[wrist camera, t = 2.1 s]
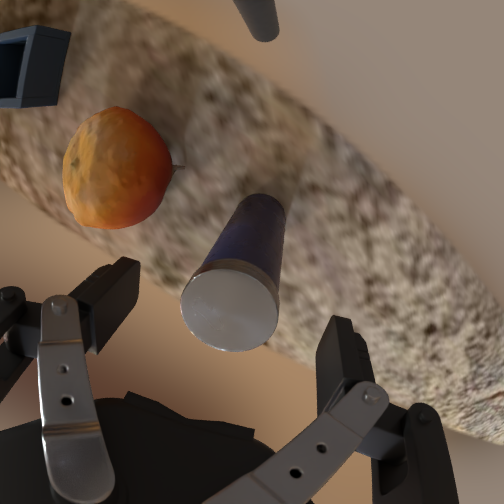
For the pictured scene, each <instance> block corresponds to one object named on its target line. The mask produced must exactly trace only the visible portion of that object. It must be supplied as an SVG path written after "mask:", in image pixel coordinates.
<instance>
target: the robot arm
mask: <svg viewBox="0 0 504 504" xmlns="http://www.w3.org/2000/svg"><path fill="white" fill-rule="evenodd" d="M139 281H140V262H139V261H137V260H134V259H130V258H127V257H124V256H123V257H121V258H120V259H119V260H117V261H116V262H115V263H114V264H113V265H111V264H108V265H105V266H102V267H100V268H98V269H97V270H96V271H95V272H93V273H92V274H91V275H90V276H89V277H88V278H86V280H84V281H83V282H82V283H81V284H80V285H79V286H77V287H76V288H75V289H74V290H73V291H72V292H71V293H70V294H68V295H55V296H51V297H49V298H47V299H46V300H45V301H44V302H43V304H41V303H36V302H30V301H26V297H25V293H24V291H23V290H22V289H21V288H19V287H14V286H8V287H4V288H1V289H0V339H1V337H4V342H3V343H2V344H1V345H0V403H1V401H3V399H4V398H5V396H6V395H7V394H8V392H9V391H10V389H11V388H12V387H13V385H14V384H15V383H16V381H17V380H18V379H19V377H20V376H21V375H22V373H23V372H24V371H25V369H26V368H27V367H28V366H29V364H30V363H31V362H32V360H33V359H34V358H37V359H38V381H39V396H40V407H41V417H42V418H40V419H37V420H34V421H31V422H28V423H25V424H22V425H19V426H15V427H12V428H9V429H6V430H2V431H0V504H314V503H313V501H311V498H312V497H313V496H314V495H315V494H316V493H317V492H318V491H319V490H320V489H321V488H322V487H323V486H324V485H325V484H326V483H327V482H328V480H329V479H330V478H331V477H332V476H333V475H334V474H335V473H336V472H337V470H338V469H339V468H340V467H341V466H342V465H343V464H344V463H345V461H346V460H347V459H348V458H349V457H350V456H351V454H352V453H353V452H354V451H356V452H359V453H361V454H364V455H366V456H369V457H371V469H372V501H373V504H459V500H458V494H457V488H456V484H455V478H454V474H453V468H452V464H451V460H450V455H449V451H448V447H447V442H446V439H445V435H444V431H443V427H442V423H441V420H440V417H439V415H438V413H437V412H436V410H435V409H434V408H432V407H431V406H429V405H427V404H425V403H415V404H413V405H412V406H411V407H410V408H409V409H408V410H406V409H404V408H401V407H399V406H396V405H394V404H392V403H390V402H389V396H388V394H387V393H386V391H385V390H384V389H383V388H382V387H381V386H379V385H378V384H376V382H375V378H374V374H373V369H372V365H371V361H370V357H369V353H368V349H367V345H366V342H365V340H364V339H363V338H362V336H361V335H360V334H359V333H355V332H354V330H353V326H352V321H351V319H348V318H344V317H340V316H336V315H333V316H332V317H331V318H330V320H329V323H328V325H327V327H326V329H325V331H324V334H323V336H322V338H321V340H320V342H319V345H318V348H317V351H316V379H317V418H316V419H315V420H314V421H313V422H312V423H311V424H310V425H309V426H307V427H306V428H305V429H304V430H303V431H302V432H301V433H299V434H298V435H297V436H296V437H295V438H294V439H292V441H290V442H289V443H288V444H287V445H285V446H284V447H283V448H282V449H280V450H279V451H278V452H277V453H275V452H274V451H273V450H272V449H271V448H269V447H268V446H267V445H265V444H264V443H262V442H260V441H258V440H256V439H254V438H253V437H254V431H255V429H252V428H247V427H243V426H239V425H235V424H230V423H226V422H221V421H207V420H193V419H188V418H185V417H183V416H181V415H180V414H178V413H176V412H174V411H173V410H171V409H169V408H167V407H166V406H164V405H162V404H161V403H159V402H157V401H154V400H151V399H149V398H146V397H143V396H141V395H138V394H135V393H133V392H130V391H128V392H127V394H126V396H125V397H124V399H120V398H101V399H96V400H94V399H93V395H92V390H91V385H90V381H89V375H88V370H87V365H86V359H85V354H86V352H87V351H89V352H92V353H94V354H96V355H98V354H99V352H100V351H101V350H102V348H103V347H104V346H105V344H106V343H107V342H108V340H109V339H110V338H111V336H112V335H113V334H114V332H115V331H116V330H117V328H118V327H119V326H120V324H121V323H122V322H123V321H124V319H125V318H126V317H127V315H128V314H129V313H130V312H131V310H132V309H133V308H134V306H135V304H136V302H137V299H138V294H139Z"/></svg>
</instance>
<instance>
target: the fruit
mask: <svg viewBox="0 0 504 504" xmlns="http://www.w3.org/2000/svg"><path fill="white" fill-rule="evenodd" d="M184 167H185V166H177V165H173V164H172V159H171V156H170V153H169V151H168V148H167V146H166V144H165V143H164V141H163V139H162V138H161V136H160V135H159V133H158V132H157V131H156V130H155V129H154V127H153V126H152V125H151V124H150V123H148V122H147V121H146V120H144V119H143V118H142V117H140V116H138V115H137V114H135V113H134V112H132V111H130V110H128V109H124V108H120V107H117V106H114V107H111V108H108V109H106V110H103V111H101V112H100V113H97V114H95V115H93V116H92V117H90V118H88V119H87V120H85V121H84V122H83V123H82V124H81V125H80V126H79V127H78V128H77V131H76V134H75V135H74V136H73V137H72V139H71V141H70V143H69V145H68V148H67V151H66V154H65V156H64V160H63V187H64V193H65V199H66V203H67V206H68V208H69V210H70V211H71V212H72V213H73V214H74V217H75V219H76V221H77V222H78V223H80V224H81V225H82V226H89V227H94V228H102V229H121V228H125V227H129V226H133V225H135V224H137V223H139V222H141V221H143V220H145V219H146V218H148V217H149V216H150V215H152V214H153V213H154V212H155V211H156V209H157V208H158V206H159V205H160V204H161V202H162V199H163V197H164V194H165V191H166V188H167V186H168V184H169V183H170V181H171V178H172V176H173V174H174V172H175V171H176V170H177V169H185V168H184Z"/></svg>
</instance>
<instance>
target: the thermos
mask: <svg viewBox="0 0 504 504" xmlns="http://www.w3.org/2000/svg"><path fill="white" fill-rule="evenodd" d="M285 222H286V216H285V212H284V209H283V207H282V205H281V204H280V203H279V202H278V201H277V200H276V199H275V198H273V197H271V196H269V195H265V194H254V195H251V196H248V197H247V198H245V199H244V200H243V201H242V202H241V203H240V204H239V206H238V207H237V209H236V210H235V212H234V214H233V215H232V217H231V218H230V220H229V222H228V223H227V225H226V226H225V228H224V230H223V231H222V233H221V234H220V236H219V238H218V239H217V241H216V242H215V244H214V246H213V247H212V249H211V251H210V252H209V254H208V255H207V257H206V259H205V260H204V262H203V264H202V265H201V267H200V268H199V269H198V270H196V272H195V273H194V274H193V275H192V277H191V279H190V280H189V282H188V284H187V285H186V287H185V288H184V290H183V293H182V296H181V301H180V307H181V314H182V317H183V320H184V322H185V324H186V325H187V327H188V328H189V330H190V331H191V332H192V333H193V334H194V335H195V336H196V337H197V338H198V339H200V340H201V341H202V342H204V343H205V344H207V345H209V346H211V347H214V348H216V349H220V350H224V351H231V352H240V351H247V350H251V349H254V348H256V347H258V346H260V345H262V344H263V343H265V342H266V341H267V340H268V339H269V338H270V337H271V336H272V334H273V333H274V331H275V329H276V327H277V323H278V316H279V305H280V300H279V294H278V292H279V283H280V273H281V263H282V253H283V243H284V232H285Z"/></svg>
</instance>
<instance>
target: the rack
mask: <svg viewBox="0 0 504 504" xmlns="http://www.w3.org/2000/svg"><path fill="white" fill-rule="evenodd" d="M70 35H71V32H67V31H63V30H59V29H54V28H50V27H45V26H40V25H34V26H29V27H25V28H20V29H16V30H12V31H8V32H4V33H0V108H29V107H40V106H54V105H57V99H58V93H59V87H60V81H61V76H62V71H63V66H64V61H65V56H66V52H67V48H68V43H69V39H70Z"/></svg>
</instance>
